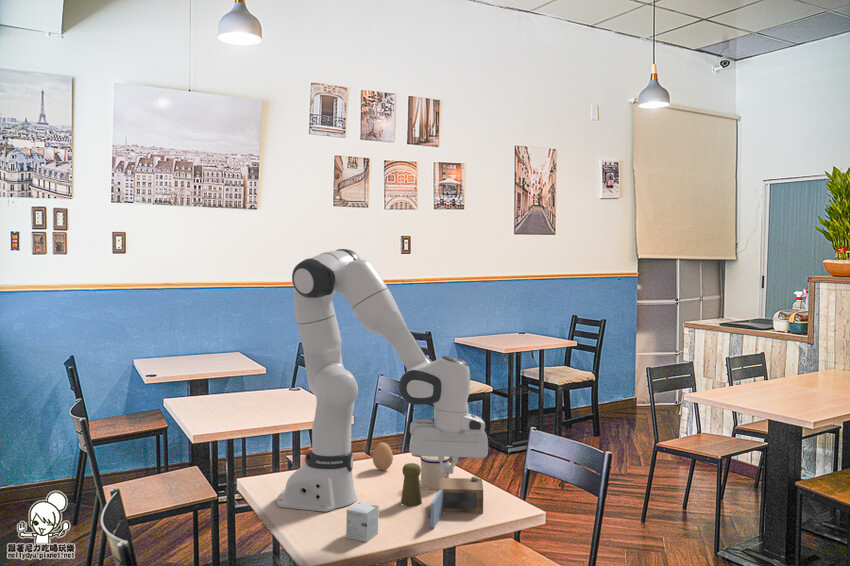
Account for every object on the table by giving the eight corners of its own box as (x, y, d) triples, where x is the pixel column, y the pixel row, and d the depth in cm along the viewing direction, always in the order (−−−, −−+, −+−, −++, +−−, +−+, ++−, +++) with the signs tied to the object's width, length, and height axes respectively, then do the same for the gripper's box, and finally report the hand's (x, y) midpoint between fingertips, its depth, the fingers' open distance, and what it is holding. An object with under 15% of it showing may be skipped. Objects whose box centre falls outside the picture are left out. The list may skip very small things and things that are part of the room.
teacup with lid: (453, 489, 199) (453, 451, 198) (423, 491, 197) (424, 452, 196) (443, 476, 210) (443, 440, 210) (415, 478, 208) (415, 441, 208)
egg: (397, 470, 216) (397, 442, 216) (381, 474, 212) (381, 446, 211) (384, 465, 221) (384, 438, 221) (368, 469, 216) (368, 442, 216)
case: (439, 512, 180) (439, 486, 180) (439, 500, 190) (439, 475, 189) (483, 513, 180) (483, 487, 180) (481, 501, 189) (481, 475, 189)
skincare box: (345, 538, 164) (345, 509, 163) (358, 529, 169) (358, 501, 169) (367, 542, 161) (367, 513, 161) (378, 533, 167) (379, 504, 167)
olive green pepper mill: (419, 507, 184) (419, 468, 184) (398, 505, 185) (398, 466, 185) (423, 499, 190) (424, 461, 190) (403, 497, 191) (403, 460, 191)
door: (436, 511, 180) (436, 488, 180) (443, 512, 180) (443, 489, 180) (426, 527, 170) (427, 502, 170) (434, 528, 169) (434, 503, 169)
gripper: (411, 421, 166) (407, 475, 166) (491, 424, 168) (487, 478, 168) (409, 415, 172) (406, 467, 173) (486, 418, 174) (482, 470, 175)
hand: (447, 472), depth 171 cm, fingers closed
